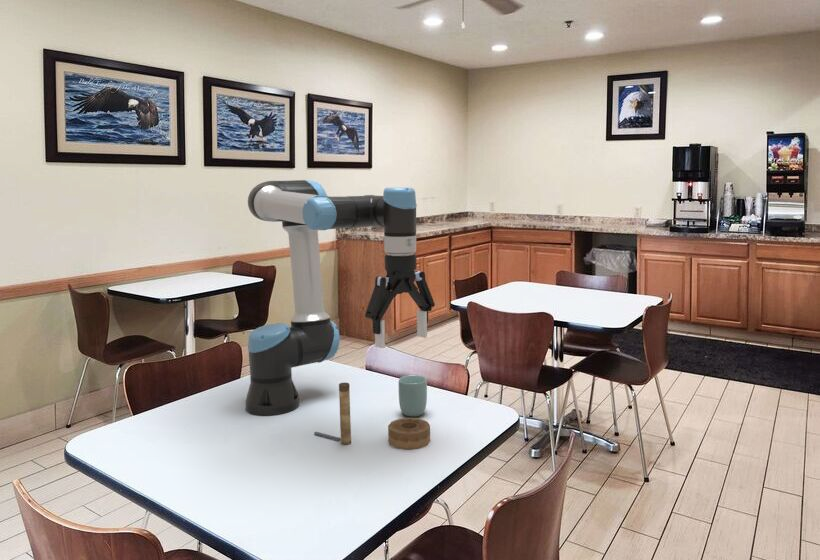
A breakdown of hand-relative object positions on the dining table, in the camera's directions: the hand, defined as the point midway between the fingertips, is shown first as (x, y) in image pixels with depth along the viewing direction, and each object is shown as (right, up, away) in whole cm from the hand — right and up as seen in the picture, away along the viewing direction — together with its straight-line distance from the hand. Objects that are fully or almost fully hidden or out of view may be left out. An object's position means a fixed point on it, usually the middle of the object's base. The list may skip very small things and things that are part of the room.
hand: (401, 341), depth 150 cm
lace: (-19, -25, +8) cm, 32 cm away
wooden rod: (-14, -25, +4) cm, 29 cm away
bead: (+2, -25, +5) cm, 25 cm away
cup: (+3, -22, +23) cm, 32 cm away
